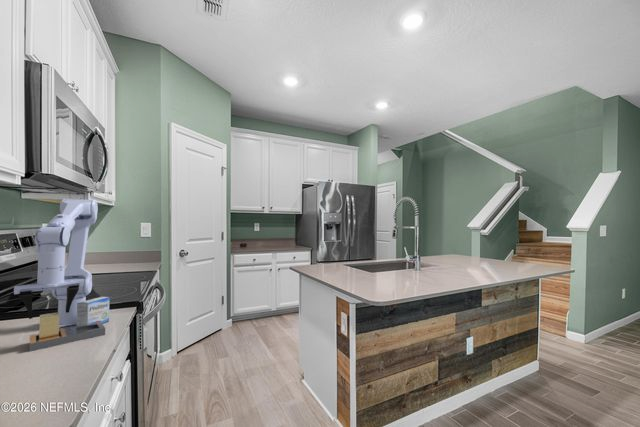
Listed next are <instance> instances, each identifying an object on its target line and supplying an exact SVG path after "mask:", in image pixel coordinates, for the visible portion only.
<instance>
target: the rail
mask: <svg viewBox="0 0 640 427" xmlns="http://www.w3.org/2000/svg"><path fill="white" fill-rule="evenodd" d="M105 335H106V326H104V323H103V324H102V323H101V322H99V323H94V324H89V325H83V326H78V327H77V326H74V327H69V328H59V336H55V337H50V338H45V339H40V340H39V333H38V334H35V333H34V334H30V335H29V344H28V345H29V346H28V347H29V352H32V351H36V350H42V349H47V348H50V347H54V346H55V347H56V346H60V345H64V344H69V343H74V342H78V341H83V340H87V339H91V338H95V337H100V336H105Z"/></svg>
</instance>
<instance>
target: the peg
mask: <svg viewBox="0 0 640 427" xmlns="http://www.w3.org/2000/svg"><path fill="white" fill-rule="evenodd" d="M38 327H39V328H38V330H39V331H38V334H39V340H40V339H45V338H50V337H55V336H59V330H60V328H59V312H58V311H57V312H52V313H45V314H40V315H39V326H38Z"/></svg>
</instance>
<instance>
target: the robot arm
mask: <svg viewBox="0 0 640 427" xmlns="http://www.w3.org/2000/svg"><path fill="white" fill-rule="evenodd" d="M98 209H99V208H98V201H97V200H96V199H74V198H73V199H72V198H71V199H70V198H69V199H68V198H63V199H61V200H60V203H59V212H60V214H59V213H58V214H56V215H55V216H53V217H52V219H50V221H49V222H48V223H47V225H45V226H43V227H40V228H37V229H36V231H35V234H34V243H35V248H36V249H35V252H36V253H37V255H38V256H37V257H38V258H37V275H36V276H37V279H36V280H37V281H36V282H35V283H30V284H23V285H15V286H13V287H14V288H13V295H19V298H20V300H21V301H22V302H23V304H24V306H25V308H26V311H27V314H28V319H29V320H31V319H33V316H34V314H33V292H44V291H51V295H52V296H53V297H54V298H56V300H58V303H57V304H58V306H57V312H59V329H61V328H64V327H70V326H74V325H76V326H77V303H78V302H82V301H86V300H87V299H86V298H87V297H86V296H89V294H90V293H91V291H92V288H93V275H92V273H91V272H90V271H88V270H87V269H85V268H84V266H85V261H86V259H85V258H86V253H87V245H88V237H89V230H90V229H91V228H90V227H91V225H94V224H96V221H97V219H98ZM69 241H70V242H69ZM68 244H69V249H68V256H67V262H66V246H68ZM65 264H66V265H65ZM65 266H66V267H65Z"/></svg>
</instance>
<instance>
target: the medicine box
mask: <svg viewBox="0 0 640 427" xmlns="http://www.w3.org/2000/svg"><path fill="white" fill-rule="evenodd" d="M109 321H110V297H109V296H99V297H95V298H91V299H88V300H87V299H86V301H82V302H78V303H77V324H76V327H78V326H83V325H89V324H94V323H99V322H101V323H102V324H103V325H104V324H106V323H108V322H109Z"/></svg>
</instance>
